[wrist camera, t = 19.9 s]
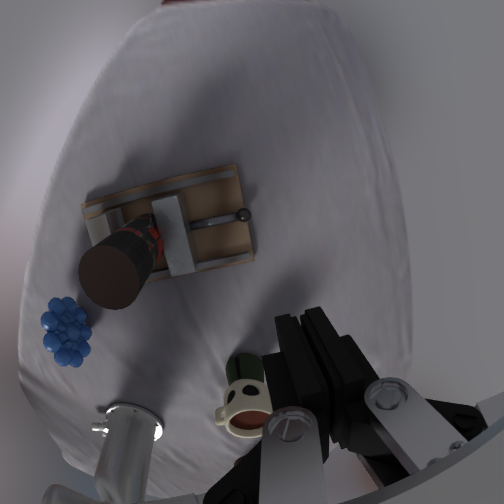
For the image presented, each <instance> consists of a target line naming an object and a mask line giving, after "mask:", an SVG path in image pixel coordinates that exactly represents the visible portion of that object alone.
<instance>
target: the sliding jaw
mask: <svg viewBox="0 0 504 504" xmlns="http://www.w3.org/2000/svg"><path fill="white" fill-rule="evenodd" d="M151 203H152V207H153V211H154V215H155V219H156V223H157V227H158V231H159V234H160V238H161V242H162V246H163V249H164V253H165V256H166V260H167V263H168V267H169V270H170V274H171V277H173V276H178V275H183V274H187V273H192V272H196V269H197V265H198V261H199V255H198V251H197V247H196V243H195V239H194V235H193V231H194V230H198V229H203V228H207V227H212V226H217V225H222V224H226V223H231V222H236V221H238V220H239V221H240V222H247V221H248V220H249V219H250V217H251V213H250V211H249V210H248V209H247V208H241V209H239V210H238V211H237V212H232V213H227V214H223V215H218V216H213V217H208V218H204V219H199V220H195V221H190V218H189V214H188V209H187V205H186V201H185V196H184V192H183V191H182V192H177V193H173V194H169V195H165V196H161V197H159V198H157V199H155V200H154V201H152V202H151Z"/></svg>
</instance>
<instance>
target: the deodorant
mask: <svg viewBox="0 0 504 504" xmlns="http://www.w3.org/2000/svg"><path fill="white" fill-rule="evenodd" d="M163 253H164V249H163V246H162V242H161V238H160V234H159V231H158V227H157V223H156V219H155V215H154V214H152V213H145V214H141V215H139V216H138V217H136V218H134V219H133V220H131V221H130V222H128V223H127V224H125V225H124V226H122V227H121V228H119V229H118V230H116V231H115V232H113V233H112V234H111V235H109V236H108V237H106V238H105V239H103V240H102V241H100V242H99V243H98V244H96V245H95V246H93V247H92V248H91V249H89V250H88V251H87V252H86V253H85V254H84V255H83V257H82V259H81V261H80V264H79V272H78V273H79V280H80V283H81V286H82V288H83V290H84V291H85V293H86V294H87V296H88V297H89V298H90V299H91V300H92V301H93V302H94V303H96V304H98V305H99V306H101V307H104V308H107V309H112V310H118V309H123V308H125V307H127V306H129V305H130V304H131V303H132V302H133V301H134V300H135V299H136V297H137V295H138V294H139V292H140V290H141V289H142V287H143V285H144V284H145V282H146V280H147V279H148V277H149V276H150V274H151V272H152V271H153V269H154V268H155V266H156V264H157V263H158V261H159V260H160V258H161V256H162V255H163Z"/></svg>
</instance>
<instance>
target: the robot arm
mask: <svg viewBox="0 0 504 504" xmlns="http://www.w3.org/2000/svg"><path fill="white" fill-rule="evenodd" d="M300 321H301V325H300V323H299V321H298V319H297V317H296V316H294V317H291V316H290V314H285V315H281V316H276V317H275V324H276V330H277V336H278V341H279V347H280V352H278V353H273V354H269V355H264V356H262V361H263V366H264V371H265V376H266V381H267V386H268V391H269V395H270V400H271V405H272V410H273V413H271V414H270V415H269V416H268V417H267V418H266V420H265V421H264V423H263V428H262V439H261V441H260V442H259V443H258V444H257V445H256V446H255V447H254V448H253V449H252V450H251V451H250V452H249V453H248V454H247V455H246V456H245V457H244V458H243V459H242V460H241V461H240V462H239V463H238V464H236V465H235V466H234V467H233V468H232V469H231V470H230V471H229V472H228V473H227V474H226V475H225V476H224V477H223V478H221V479H220V480H219V481H218V482H217V483H216V484H215V485H214V486H212V487H211V488H210V489H209V490H208V492H207V493H203V494H199V495H195V494H194V493H192V494H187V495H182V496H177V497H172V498H166V499H160V500H153V501H146V502H145V493H146V486H147V479H148V472H149V466H150V460H151V454H152V448H153V442H154V440H157V439H159V438H160V437H161V436H162V433H163V425H162V423H161V421H160V420H159V419H158V417H156V416H155V415H154V414H153V413H151V412H150V411H148V410H146V409H144V408H142V407H139V406H136V405H133V404H127V403H118V404H114V405H111V406H110V407H109V408H108V409H107V412H106V420H107V422H103V423H92V424H91V427H92V429H93V430H94V431H102V435H103V436H104V437H106V438H105V441H104V444H103V448H102V451H101V454H100V458H99V461H98V464H97V468H96V471H95V475H94V483H95V487H96V490H97V492H98V494H99V495H100V497H101V499H102V501H103V502H101V501H98V500H95V499H93V498H90V497H88V496H85V495H83V494H81V493H79V492H77V491H74V490H72V489H70V488H68V487H65V486H63V485H60V484H52V485H50V486H49V487H48V488H47V489H46V491H45V494H44V496H43V499H42V502H41V504H327V497H326V487H325V478H324V469H323V464H324V463H325V461H326V460H327V458H328V457H329V434H330V437H331V439H332V442H333V443H337V442H339V445H340V447H341V449H344V448H347V449H348V451H351V452H354V453H356V454H357V457H358V459H359V461H360V462H361V464H362V465H363V467H364V468H365V470H366V471H367V472H368V474H369V476H370V477H371V478H372V480H373V481H374V482H375V484H376V485H377V487H378V489H379V490H377V491H374V492H372V493H369V494H366V495H363V496H361V497H358V498H355V499H352V500H349V501H346V502H343V503H339V504H504V392H502V393H500V394H497V395H495V396H493V397H490V398H488V399H486V400H483V401H481V402H478V403H477V404H476V406H475V407H473V406H469V405H463V404H455V403H449V402H442V401H437V400H431V399H425V398H423V397H422V396H420V394H419V393H418V392H416V390H415V389H414V388H412V387H411V386H410V385H409V384H408V383H407V382H405V381H404V380H401V379H399V378H392V377H388V378H382V379H380V378H379V377H378V375H377V374H376V372H375V371H374V369H373V368H372V366H371V365H370V363H369V362H368V361H367V359H366V358H365V356H364V355H363V353H362V352H361V350H360V349H359V347H358V346H357V344H356V343H355V341H354V340H353V339H352V337H351V336H350V335H344V336H341V337H339V335H338V334H337V332H336V330H335V329H334V327H333V326H332V324H331V323H330V321H329V319H328V318H327V316H326V315H325V313H324V312H323V310H322V308H321V307H320V306H319V307H315V308H311V309H307V310H305V314H303V315H300Z"/></svg>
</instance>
